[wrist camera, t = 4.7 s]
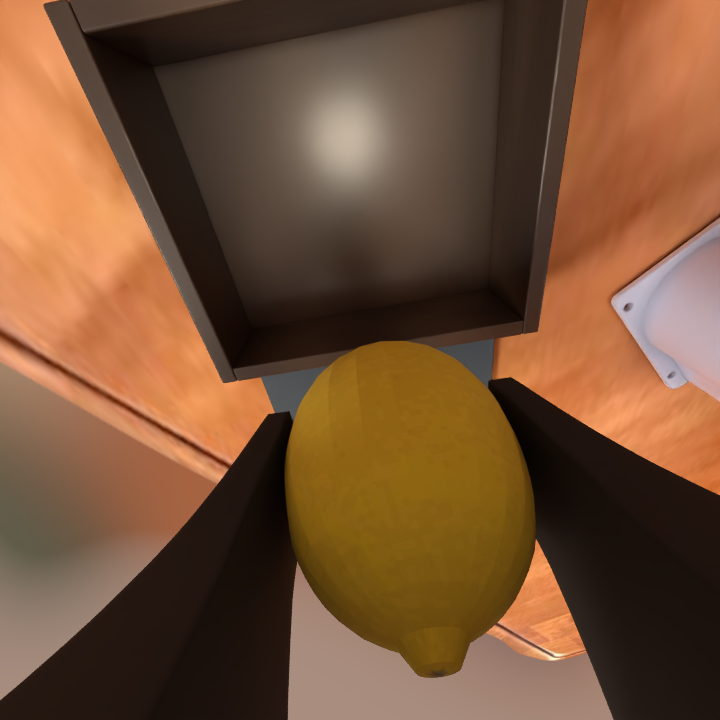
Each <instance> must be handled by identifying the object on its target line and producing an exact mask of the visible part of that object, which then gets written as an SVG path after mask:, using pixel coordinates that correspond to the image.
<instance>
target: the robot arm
mask: <svg viewBox="0 0 720 720" xmlns="http://www.w3.org/2000/svg"><path fill="white" fill-rule="evenodd" d="M611 304H612V306H613V308H614V309H615V311H616V312H617V314H618V315H619V317H620V318H621V320H622V321H623V323H624V324H625V326H626V327H627V329H628V330H629V332H630V333H631V335H632V336H633V338H634V339H635V340H636V342H637V343H638V345H639V346H640V348H641V349H642V351H643V352H644V354H645V355H646V357H647V358H648V360H649V361H650V363H651V364H652V366H653V367H654V369H655V370H656V372H657V373H658V375H659V376H660V378H661V379H662V381H663V382H664V384H665V385H666V386H668V387H669V388H671V389H676V388H679V387H681V386H682V385H684V384H686V383H687V382H690V383H692V384H693V385H695V386H697V387H698V388H700V389H701V390H703V391H704V392H706V393H707V394H709V395H710V396H712V397H713V398H715V399H717V400H718V401H720V218H718V219H717V220H716V221H714V222H713V223H712V224H710V225H709V226H708V227H706V228H705V229H703V230H702V231H701V232H699V233H698V234H697V235H695V236H694V237H693V238H691V239H690V240H689V241H687V242H686V243H684V244H683V245H682V246H680V247H679V248H678V249H676V250H675V251H674V252H672V253H671V254H670V255H668V256H667V257H665V258H664V259H663V260H661V261H660V262H659V263H657V264H656V265H655V266H653V267H652V268H651V269H649V270H648V271H646V272H645V273H644V274H642V275H641V276H640V277H638V278H637V279H636V280H634V281H633V282H632V283H630V284H629V285H628V286H626V287H625V288H623V289H622V290H621V291H619V292H618V293H617V294H616V295H615V296H614V297H613V298H612V301H611ZM626 304H628V305H627V306H626V307H625V308H624V306H625V305H626ZM488 389H489V391H490V392H491V393H492V394H493V396H494V397H495V399H496V400H497V402H498V403H499V405H500V407H501V409H502V411H503V412H504V414H505V416H506V418H507V420H508V422H509V423H510V425H511V427H512V429H513V431H514V433H515V435H516V437H517V439H518V442H519V444H520V446H521V449H522V452H523V455H524V458H525V461H526V464H527V468H528V471H529V475H530V479H531V484H532V489H533V495H534V506H535V520H536V539H537V541H538V543H539V545H540V547H541V549H542V551H543V553H544V555H545V557H546V559H547V561H548V563H549V565H550V567H551V569H552V571H553V574H554V576H555V578H556V580H557V583H558V585H559V587H560V590H561V592H562V594H563V596H564V599H565V601H566V603H567V606H568V608H569V610H570V613H571V615H572V617H573V620H574V622H575V625H576V627H577V629H578V632H579V634H580V637H581V639H582V641H583V644H584V646H585V649H586V651H587V653H588V656H589V658H590V661H591V663H592V666H593V668H594V671H595V673H596V676H597V678H598V681H599V683H600V686H601V688H602V691H603V693H604V696H605V698H606V701H607V704H608V706H609V709H610V711H611V713H612V716H613V719H614V720H720V495H718V494H716V493H714V492H711V491H709V490H707V489H705V488H703V487H701V486H699V485H697V484H694V483H692V482H690V481H688V480H686V479H684V478H682V477H680V476H678V475H676V474H674V473H672V472H670V471H668V470H666V469H664V468H662V467H660V466H658V465H656V464H654V463H652V462H650V461H648V460H647V459H645V458H643V457H641V456H639V455H637V454H635V453H634V452H632V451H630V450H628V449H626V448H625V447H623V446H621V445H619V444H618V443H616V442H614V441H612V440H610V439H609V438H607V437H605V436H603V435H602V434H600V433H598V432H597V431H595V430H593V429H592V428H590V427H588V426H587V425H585V424H583V423H582V422H580V421H578V420H577V419H575V418H574V417H572V416H570V415H569V414H567V413H566V412H564V411H563V410H561V409H559V408H558V407H556V406H555V405H553V404H552V403H550V402H549V401H547V400H546V399H544V398H542V397H541V396H539V395H538V394H536V393H535V392H533V391H532V390H530V389H529V388H527V387H526V386H524V385H523V384H521V383H519V382H518V381H516V380H515V379H513V378H511V377H509V378H502V379H496V380H489V381H488ZM293 423H294V422H293V419H292V417H291V414H290V411H286V412H280V413H273V414H268V415H267V417H266V418H265V419H264V421H263V422H262V424H261V425H260V426H259V428H258V429H257V431H256V432H255V434H254V435H253V436H252V438H251V439H250V441H249V442H248V444H247V445H246V446H245V448H244V449H243V451H242V452H241V453H240V455H239V456H238V458H237V459H236V460H235V462H234V463H233V464H232V466H231V467H230V468H229V470H228V471H227V473H226V474H225V475H224V477H223V478H222V479H221V481H220V482H219V483H218V485H217V486H216V487H215V488H214V490H213V491H212V492H211V493H210V495H209V496H208V497H207V499H206V500H205V501H204V502H203V503H202V504H201V506H200V507H199V508H198V509H197V511H196V512H195V513H194V514H193V516H192V517H191V518H190V519H189V520H188V522H187V523H186V524H185V525H184V526H183V527H182V528H181V530H180V531H179V532H178V533H177V534H176V535H175V537H174V538H172V540H171V541H170V542H169V543H168V544H167V545H166V546H165V547H164V548H163V549H162V550H161V551H160V553H159V554H158V555H157V556H156V557H155V558H154V559H153V560H152V561H151V562H150V563H149V564H148V565H147V566H146V567H145V568H144V569H143V570H142V571H141V572H140V573H139V574H138V575H137V576H136V577H135V578H134V579H133V580H132V581H131V582H130V583H129V584H128V585H127V586H126V587H125V588H124V589H123V590H122V591H121V592H120V593H119V594H118V595H117V596H116V597H115V598H114V599H113V600H112V601H111V602H110V603H109V604H108V605H107V606H106V607H105V608H104V609H103V610H102V611H101V612H99V613H98V614H97V615H96V616H95V617H94V618H93V619H92V620H91V621H90V622H89V623H88V624H87V625H85V626H84V627H83V628H82V629H81V630H80V631H79V632H78V633H77V634H76V635H75V636H73V637H72V638H71V639H70V640H69V641H68V642H67V643H66V644H65V645H64V646H62V647H61V648H60V649H59V650H58V651H57V652H56V653H55V654H53V655H52V656H51V657H50V658H49V659H48V660H47V661H45V662H44V663H43V664H42V665H41V666H40V667H39V668H37V669H36V670H35V671H34V672H33V673H32V674H31V675H30V676H28V677H27V678H26V679H25V680H24V681H23V682H21V683H20V684H19V685H18V686H17V687H16V688H14V689H13V690H12V691H11V692H10V693H9V694H7V695H6V696H5V697H4V698H3V699H1V700H0V720H288V687H289V660H290V637H291V636H290V635H291V617H292V599H293V590H294V580H295V572H296V565H297V559H296V555H295V552H294V549H293V546H292V541H291V536H290V531H289V524H288V515H287V506H286V496H285V479H284V476H285V458H286V450H287V445H288V441H289V437H290V433H291V430H292V426H293Z"/></svg>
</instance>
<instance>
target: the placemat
mask: <svg viewBox="0 0 720 720" xmlns="http://www.w3.org/2000/svg"><path fill="white" fill-rule="evenodd" d="M435 349H437V350H439V351H441V352H443V353H445V354H447V355H449V356H451V357H453V358H455V359H456V360H458V361H459V362H460V363H462V364H463V365H464V366H465V367H466V368H467V369H468V370H469V371H470V372H471V373H473V374H474V375H475V376H476V377H477V378H478V379H479V380H480V381H481V382H482V383H483V384H484V385H485V386H486V387H487V388H488V381H489V380H492V367H493V353H494V339H490V340H484V341H477V342H471V343H465V344H459V345H453V346H447V347H441V348H435ZM327 367H328V366H326V367H320V368H313V369H307V370H301V371H295V372H289V373H283V374H277V375H271V376H265V377H261V378H262V381H263V384H264V386H265V389H266V391H267V394H268V396H269V399H270V401H271V404H272V406H273V409H274V411H275V413H280V412H286V411H290V414H291V417H292V419H293V422H294V419H295V416H296V413H297V410H298V408H299V405H300V403H301V401H302V399H303V398H304V396H305V395H306V393H307V392H308V390H309V389H310V387H311V386H312V384H313V383H314V381H315V380H316V378H317V377H318V376H319V375H320V374H321V373H322V372H323V371H324V370H325V369H326V368H327Z"/></svg>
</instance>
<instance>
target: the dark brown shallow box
mask: <svg viewBox="0 0 720 720" xmlns="http://www.w3.org/2000/svg"><path fill="white" fill-rule="evenodd" d="M587 1H588V0H58V1H53V2H49V3H45V4H44V9H45V11H46V13H47V15H48V17H49V19H50V21H51V23H52V25H53V27H54V29H55V32H56V34H57V36H58V38H59V40H60V42H61V44H62V46H63V48H64V50H65V53H66V55H67V57H68V59H69V61H70V63H71V65H72V67H73V69H74V71H75V73H76V76H77V78H78V80H79V82H80V84H81V86H82V88H83V90H84V92H85V94H86V97H87V99H88V101H89V103H90V105H91V107H92V109H93V111H94V113H95V115H96V118H97V120H98V122H99V124H100V126H101V128H102V130H103V132H104V134H105V136H106V138H107V141H108V143H109V145H110V147H111V149H112V151H113V153H114V155H115V157H116V159H117V162H118V164H119V166H120V168H121V170H122V172H123V174H124V176H125V178H126V180H127V183H128V185H129V187H130V189H131V191H132V193H133V195H134V197H135V199H136V201H137V203H138V206H139V208H140V210H141V212H142V214H143V216H144V218H145V220H146V222H147V224H148V227H149V229H150V231H151V233H152V235H153V237H154V239H155V241H156V243H157V245H158V248H159V250H160V252H161V254H162V256H163V258H164V260H165V262H166V264H167V266H168V268H169V271H170V273H171V275H172V277H173V279H174V281H175V283H176V285H177V287H178V289H179V292H180V294H181V296H182V298H183V300H184V302H185V304H186V306H187V308H188V310H189V313H190V315H191V317H192V319H193V321H194V323H195V325H196V327H197V329H198V331H199V333H200V336H201V338H202V340H203V342H204V344H205V346H206V348H207V350H208V352H209V354H210V357H211V359H212V361H213V363H214V365H215V367H216V369H217V371H218V373H219V375H220V378H221V380H222V382H223V383H228V382H234V381H237V380H238V381H241V380H247V379H253V378H259V377H265V376H271V375H277V374H283V373H289V372H295V371H301V370H307V369H313V368H320V367H326V366H330V365H331V364H332V363H333V362H334V361H335V360H337V359H338V358H339V357H341V356H343V355H345V354H347V353H349V352H351V351H353V350H355V349H357V348H359V347H361V346H365V345H369V344H373V343H377V342H381V341H408V342H413V343H418V344H423V345H428V346H430V347H433V348H441V347H447V346H453V345H459V344H465V343H471V342H477V341H484V340H490V339H496V338H502V337H508V336H514V335H520V334H522V333H523V334H526V333H532V332H537V331H538V327H539V321H540V314H541V307H542V301H543V294H544V287H545V281H546V274H547V267H548V261H549V254H550V247H551V241H552V234H553V227H554V221H555V214H556V208H557V201H558V194H559V188H560V181H561V174H562V168H563V161H564V154H565V148H566V141H567V134H568V128H569V121H570V114H571V108H572V101H573V94H574V88H575V81H576V75H577V68H578V61H579V55H580V48H581V41H582V35H583V28H584V21H585V15H586V8H587Z"/></svg>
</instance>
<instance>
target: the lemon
mask: <svg viewBox="0 0 720 720" xmlns="http://www.w3.org/2000/svg"><path fill="white" fill-rule="evenodd" d="M284 479H285V496H286V506H287V515H288V524H289V531H290V536H291V541H292V546H293V549H294V552H295V555H296V559H297V562H298V564H299V566H300V568H301V570H302V572H303V574H304V576H305V578H306V579H307V582H308V583H309V585H310V587H311V588H312V590H313V592H314V593H315V594H316V596H317V597H318V598H319V600H320V601H321V603H322V604H323V605H324V607H325V608H326V609H327V610H328V611H329V612H330V613H331V614H332V615H333V616H334V617H335V618H336V619H337V620H338V621H340V622H341V623H342V624H344V625H345V626H346V627H348V628H349V629H350V630H352V631H353V632H354V633H356V634H357V635H358V636H360V637H361V638H363V639H364V640H367V641H369V642H371V643H374V644H376V645H378V646H381V647H383V648H386V649H388V650H391V651H394V652H398V653H400V654H401V656H402V657H403V658H404V659H405V661H406V662H407V663H408V664H409V665H410V667H411V668H412V669H413V670H414V672H415V673H416V674H417V675H418V676H421V677H427V678H437V677H444V676H448V675H452V674H454V673H456V672H458V671H459V670H460V669H461V667H462V665H463V662H464V659H465V656H466V653H467V650H468V647H469V645H470V643H471V642H473V641H474V640H476V639H477V638H479V637H480V636H482V635H483V634H485V633H486V632H487V631H488V630H489V629H490V628H492V627H493V626H494V625H495V624H496V623H497V622H498V621H499V620H500V619H501V618H502V617H503V616H504V614H505V613H506V612H507V610H508V609H509V608H510V606H511V605H512V604H513V602H514V601H515V599H516V597H517V595H518V593H519V591H520V589H521V587H522V585H523V583H524V581H525V578H526V576H527V573H528V571H529V568H530V565H531V561H532V558H533V555H534V551H535V541H536V520H535V506H534V495H533V489H532V484H531V479H530V475H529V471H528V468H527V464H526V461H525V458H524V455H523V452H522V449H521V446H520V444H519V442H518V439H517V437H516V435H515V433H514V431H513V429H512V427H511V425H510V423H509V422H508V420H507V418H506V416H505V414H504V412H503V411H502V409H501V407H500V405H499V403H498V402H497V400H496V399H495V397H494V396H493V394H492V393H491V392H490V391H489V389H488V388H487V387H486V386H485V385H484V384H483V383H482V382H481V381H480V380H479V379H478V378H477V377H476V376H475V375H474V374H473V373H471V372H470V371H469V370H468V369H467V368H466V367H465V366H464V365H463V364H462V363H460V362H459V361H458V360H456V359H455V358H453V357H451V356H449V355H447V354H445V353H443V352H441V351H439V350H437V349H435V348H433V347H430V346H428V345H423V344H418V343H413V342H408V341H381V342H377V343H373V344H369V345H365V346H361V347H359V348H357V349H355V350H353V351H351V352H349V353H347V354H345V355H343V356H341V357H339V358H338V359H337V360H335V361H334V362H333V363H332V364H331V365H330V366H328V367H327V368H326V369H325V370H324V371H323V372H322V373H321V374H320V375H319V376H318V377H317V378H316V380H315V381H314V383H313V384H312V386H311V387H310V389H309V390H308V392H307V393H306V395H305V396H304V398H303V399H302V401H301V403H300V405H299V408H298V410H297V413H296V416H295V419H294V423H293V426H292V430H291V433H290V437H289V441H288V445H287V450H286V458H285V476H284Z"/></svg>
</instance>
